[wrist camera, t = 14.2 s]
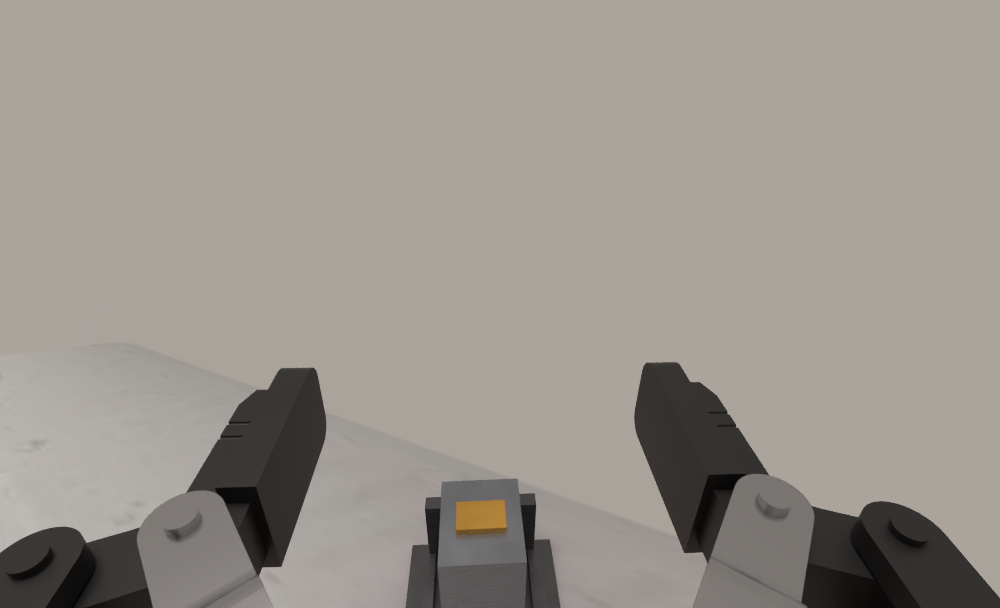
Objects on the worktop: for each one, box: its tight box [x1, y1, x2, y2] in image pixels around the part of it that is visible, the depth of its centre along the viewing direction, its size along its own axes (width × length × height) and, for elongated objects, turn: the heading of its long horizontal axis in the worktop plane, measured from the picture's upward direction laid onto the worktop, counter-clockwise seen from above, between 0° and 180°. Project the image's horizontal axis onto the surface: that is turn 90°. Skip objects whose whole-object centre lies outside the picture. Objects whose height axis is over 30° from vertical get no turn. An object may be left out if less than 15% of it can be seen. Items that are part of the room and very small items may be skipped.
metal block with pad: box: [438, 479, 527, 608], centre depth 33 cm, size 6×5×10 cm
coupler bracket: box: [406, 493, 560, 608], centre depth 35 cm, size 11×11×6 cm
